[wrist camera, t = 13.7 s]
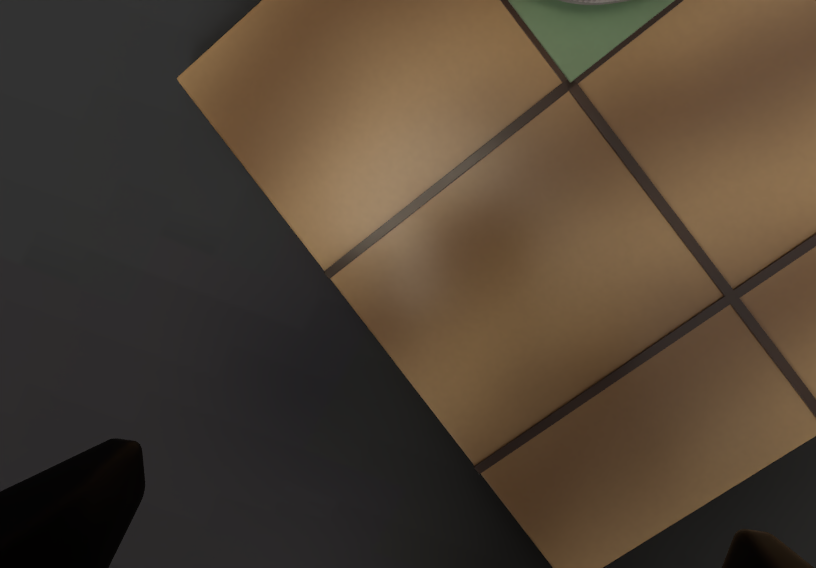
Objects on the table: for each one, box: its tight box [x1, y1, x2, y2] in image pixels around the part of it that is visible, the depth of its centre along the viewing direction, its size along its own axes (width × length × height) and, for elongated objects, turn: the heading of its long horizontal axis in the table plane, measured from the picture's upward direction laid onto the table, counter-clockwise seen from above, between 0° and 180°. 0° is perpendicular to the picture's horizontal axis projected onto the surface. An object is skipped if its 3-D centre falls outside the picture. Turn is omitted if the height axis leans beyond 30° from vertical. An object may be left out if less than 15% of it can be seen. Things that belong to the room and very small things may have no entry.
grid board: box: [177, 0, 816, 568], centre depth 18 cm, size 21×18×1 cm
